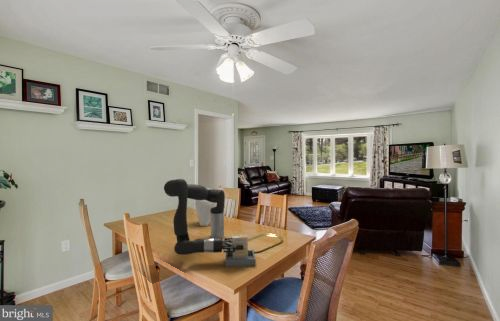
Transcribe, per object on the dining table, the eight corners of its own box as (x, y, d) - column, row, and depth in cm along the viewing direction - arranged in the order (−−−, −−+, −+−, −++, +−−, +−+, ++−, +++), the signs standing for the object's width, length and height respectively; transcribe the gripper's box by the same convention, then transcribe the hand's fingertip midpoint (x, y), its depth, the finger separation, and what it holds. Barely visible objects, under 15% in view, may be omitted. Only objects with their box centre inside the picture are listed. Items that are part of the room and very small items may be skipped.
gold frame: (288, 240, 161) (288, 238, 161) (251, 257, 137) (251, 254, 137) (267, 234, 175) (267, 231, 175) (230, 247, 150) (230, 245, 150)
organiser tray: (226, 256, 136) (226, 250, 136) (253, 255, 137) (253, 249, 137) (225, 266, 125) (225, 260, 125) (255, 265, 126) (255, 259, 126)
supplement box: (247, 257, 134) (247, 234, 133) (247, 261, 129) (247, 237, 129) (232, 257, 133) (232, 234, 133) (232, 261, 128) (232, 237, 128)
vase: (200, 228, 187) (199, 191, 186) (192, 224, 198) (191, 189, 197) (216, 224, 196) (216, 189, 195) (208, 220, 207) (207, 187, 206)
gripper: (211, 243, 122) (243, 242, 124) (214, 233, 137) (242, 233, 138) (212, 257, 123) (243, 256, 124) (214, 246, 137) (242, 245, 138)
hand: (243, 244), depth 131 cm, fingers open, 8 cm apart
